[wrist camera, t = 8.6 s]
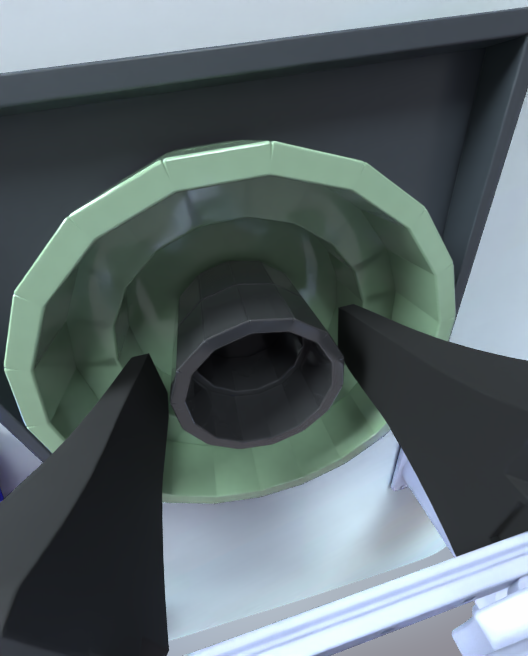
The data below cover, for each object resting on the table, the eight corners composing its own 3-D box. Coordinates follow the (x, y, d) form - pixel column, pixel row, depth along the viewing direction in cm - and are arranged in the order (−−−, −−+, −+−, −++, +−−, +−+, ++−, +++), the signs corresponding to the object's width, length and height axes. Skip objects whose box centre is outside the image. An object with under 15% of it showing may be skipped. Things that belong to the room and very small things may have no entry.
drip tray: (494, 24, 10) (555, 2, 8) (410, 379, 20) (431, 400, 18) (-220, 119, 7) (-333, 114, 6) (93, 467, 17) (83, 501, 16)
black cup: (291, 242, 12) (348, 297, 8) (299, 347, 15) (342, 424, 11) (157, 270, 11) (141, 346, 7) (195, 373, 14) (200, 466, 10)
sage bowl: (380, 114, 10) (524, 97, 6) (358, 372, 18) (415, 449, 14) (-4, 178, 9) (-189, 216, 5) (148, 429, 17) (134, 536, 12)
